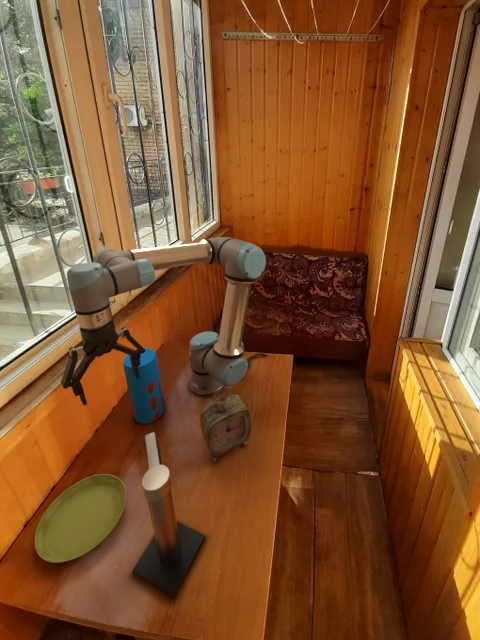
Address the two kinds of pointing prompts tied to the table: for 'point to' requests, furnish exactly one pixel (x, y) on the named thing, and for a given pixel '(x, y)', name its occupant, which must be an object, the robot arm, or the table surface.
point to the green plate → (80, 518)
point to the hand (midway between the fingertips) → (111, 388)
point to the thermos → (145, 387)
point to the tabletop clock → (225, 423)
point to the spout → (155, 471)
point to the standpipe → (168, 549)
